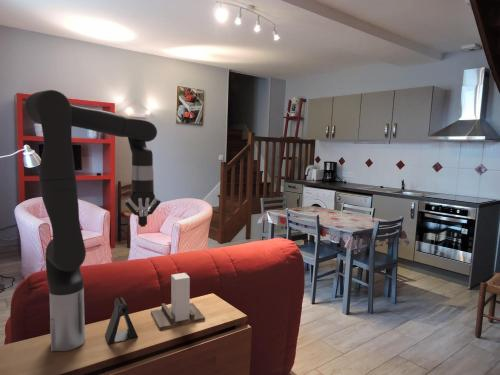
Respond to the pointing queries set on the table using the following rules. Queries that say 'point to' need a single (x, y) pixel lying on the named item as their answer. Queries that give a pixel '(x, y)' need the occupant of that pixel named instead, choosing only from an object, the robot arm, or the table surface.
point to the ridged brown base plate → (167, 320)
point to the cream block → (180, 296)
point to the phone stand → (111, 331)
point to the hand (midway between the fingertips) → (142, 226)
